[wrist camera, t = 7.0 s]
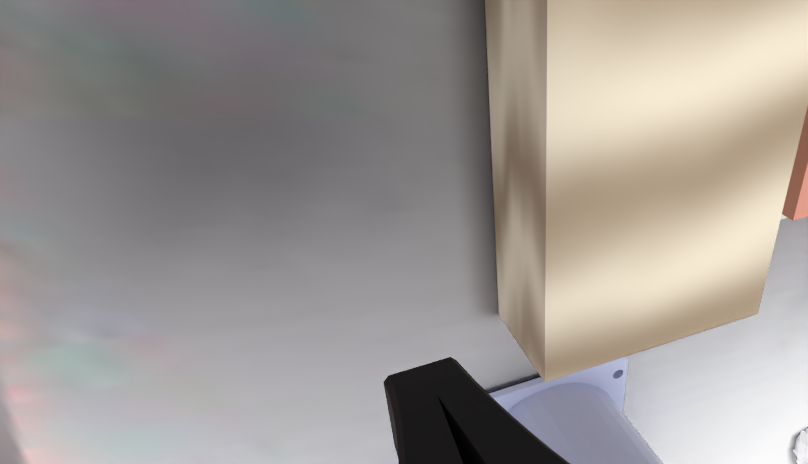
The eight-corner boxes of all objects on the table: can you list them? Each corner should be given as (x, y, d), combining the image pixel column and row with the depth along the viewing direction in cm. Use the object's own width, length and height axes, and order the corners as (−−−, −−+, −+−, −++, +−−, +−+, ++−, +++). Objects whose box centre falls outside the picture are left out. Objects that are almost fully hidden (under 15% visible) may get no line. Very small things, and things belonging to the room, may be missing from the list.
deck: (689, 259, 28) (757, 313, 25) (498, 315, 26) (544, 382, 23) (744, -99, 20) (854, -90, 17) (482, -52, 19) (547, -32, 15)
